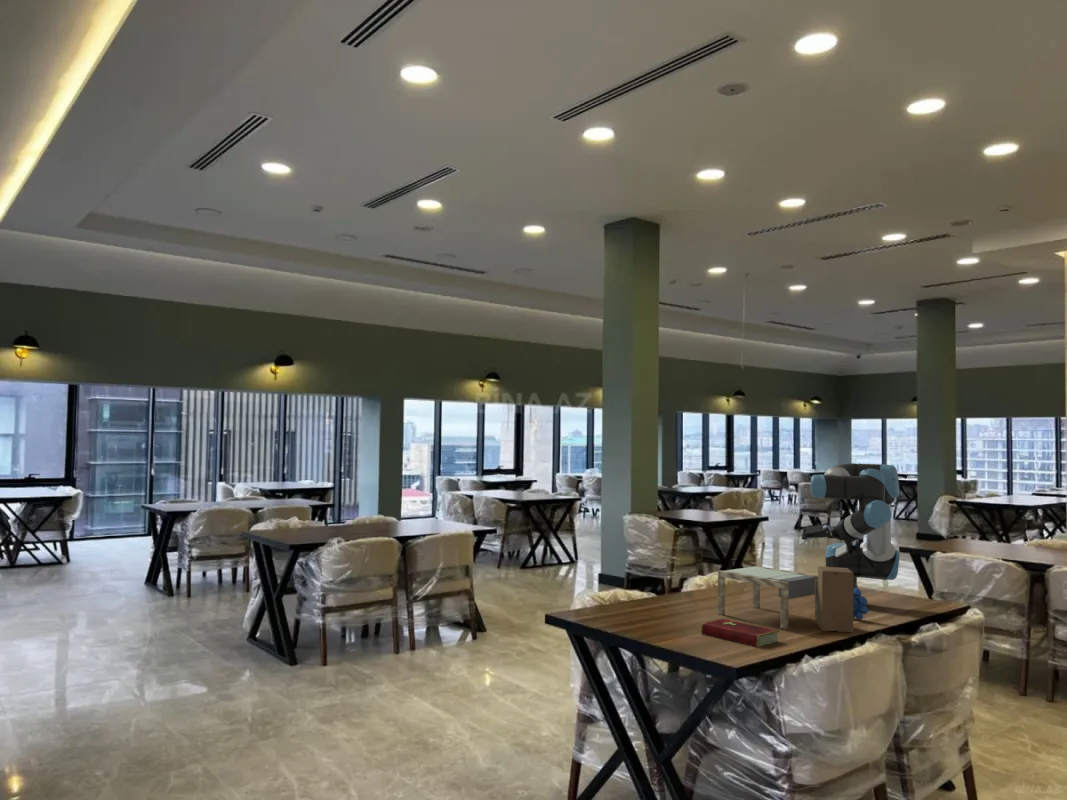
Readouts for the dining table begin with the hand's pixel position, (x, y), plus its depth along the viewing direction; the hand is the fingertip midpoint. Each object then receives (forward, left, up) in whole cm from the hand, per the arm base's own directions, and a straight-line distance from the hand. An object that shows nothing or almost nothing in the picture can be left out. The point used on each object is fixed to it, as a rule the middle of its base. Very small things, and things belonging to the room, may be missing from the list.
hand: (818, 547), depth 278 cm
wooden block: (-2, +5, -27) cm, 28 cm away
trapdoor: (+2, -18, -17) cm, 25 cm away
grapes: (-21, 0, -27) cm, 34 cm away
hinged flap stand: (+2, -18, -27) cm, 32 cm away
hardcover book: (+36, -6, -28) cm, 46 cm away
